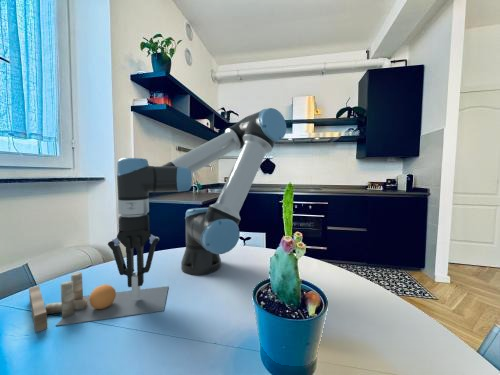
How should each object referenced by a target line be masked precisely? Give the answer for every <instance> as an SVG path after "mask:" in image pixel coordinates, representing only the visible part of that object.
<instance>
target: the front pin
mask: <svg viewBox="0 0 500 375" xmlns="http://www.w3.org/2000/svg"><path fill="white" fill-rule="evenodd" d="M86 306H87V299H82V300H74V310H79V309H85V307H86ZM45 308H46V312H47V315H50V314H56V313H62V303H61V302H51V303H47V304H46V305H45Z"/></svg>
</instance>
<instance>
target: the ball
mask: <svg viewBox="0 0 500 375" xmlns="http://www.w3.org/2000/svg"><path fill="white" fill-rule="evenodd" d="M116 292H117V291H116V288H114V287H113V286H112V285H109V284H101V285H99V286H96V287H95V288H94V289H93V290H92V292H90V298H89V302H90V305H91V306H92V307H93V308H95V309H104V308H107V307H108V306H110V305H111V304H112V303H113V301H114V300H115V297H116Z"/></svg>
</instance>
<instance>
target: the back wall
mask: <svg viewBox="0 0 500 375" xmlns="http://www.w3.org/2000/svg"><path fill="white" fill-rule="evenodd" d="M28 289H29V292H28V295H29V304H30V310H31V316H32V320H33V326H34V331H35V333H38V332H41V331H44V330H47V329H48V318H47V317H48V314H47V312H46V308H45V307H46V305H45V302H44V299H43V295H42V292H41V288H40V285H34V286H32V287H28Z"/></svg>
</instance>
